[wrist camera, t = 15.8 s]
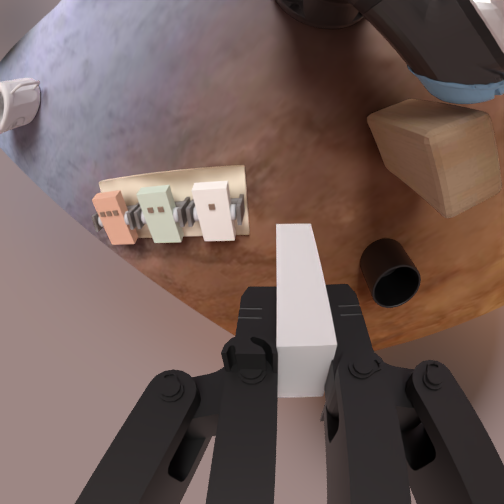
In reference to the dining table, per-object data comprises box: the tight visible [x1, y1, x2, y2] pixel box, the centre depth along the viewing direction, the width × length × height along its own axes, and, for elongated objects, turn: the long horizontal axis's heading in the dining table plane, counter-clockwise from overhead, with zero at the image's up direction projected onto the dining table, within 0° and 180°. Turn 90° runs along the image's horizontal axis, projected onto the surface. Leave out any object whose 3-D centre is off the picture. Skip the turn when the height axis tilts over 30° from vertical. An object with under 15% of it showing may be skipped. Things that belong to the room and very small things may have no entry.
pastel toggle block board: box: [92, 165, 250, 238], centre depth 44 cm, size 12×27×6 cm, turn 93°
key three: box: [92, 190, 138, 245], centre depth 43 cm, size 10×6×2 cm, turn 4°
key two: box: [136, 185, 184, 243], centre depth 43 cm, size 10×6×2 cm, turn 4°
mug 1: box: [0, 78, 40, 134], centre depth 31 cm, size 14×11×10 cm
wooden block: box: [367, 99, 502, 218], centre depth 29 cm, size 10×10×20 cm
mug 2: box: [361, 239, 421, 308], centre depth 46 cm, size 9×12×9 cm
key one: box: [191, 181, 237, 241], centre depth 42 cm, size 10×6×2 cm, turn 4°
